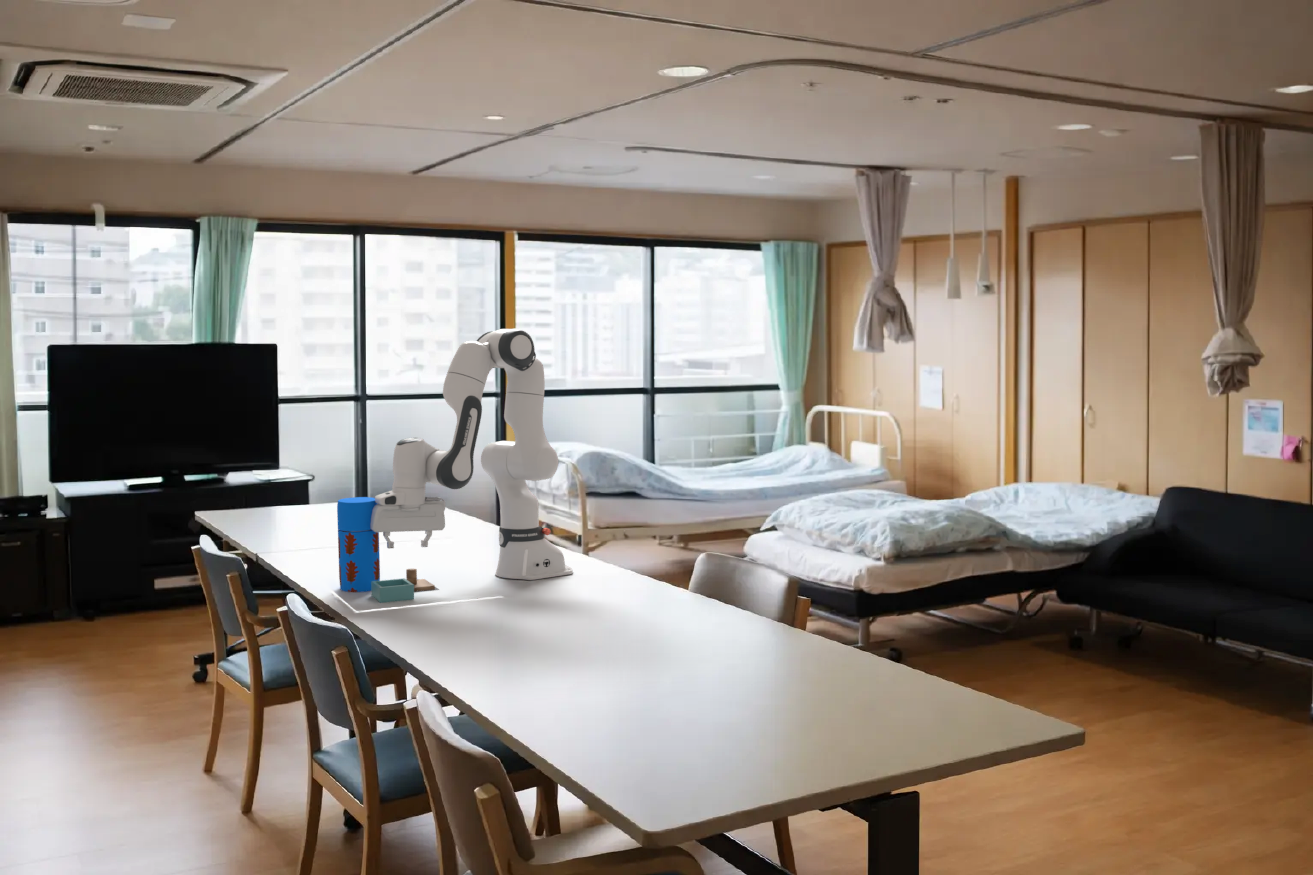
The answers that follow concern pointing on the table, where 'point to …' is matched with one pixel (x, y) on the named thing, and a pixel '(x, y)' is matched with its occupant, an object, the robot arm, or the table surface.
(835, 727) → the table surface
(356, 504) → the thermos
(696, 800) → the table surface
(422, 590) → the mat
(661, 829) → the table surface
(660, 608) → the table surface
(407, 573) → the lid
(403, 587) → the teal open box
